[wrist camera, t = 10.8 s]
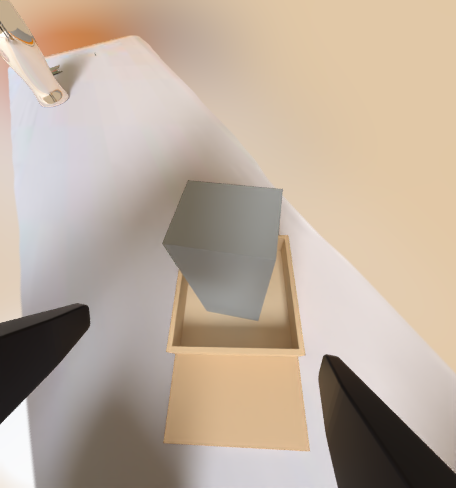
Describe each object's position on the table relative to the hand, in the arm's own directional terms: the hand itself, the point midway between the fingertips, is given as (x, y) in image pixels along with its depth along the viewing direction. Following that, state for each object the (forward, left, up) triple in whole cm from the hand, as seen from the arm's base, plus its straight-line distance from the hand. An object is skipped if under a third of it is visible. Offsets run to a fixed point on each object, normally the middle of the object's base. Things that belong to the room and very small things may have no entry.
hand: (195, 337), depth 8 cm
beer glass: (-20, +60, -13) cm, 64 cm away
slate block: (+3, +5, -12) cm, 14 cm away
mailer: (+2, +2, -13) cm, 13 cm away
